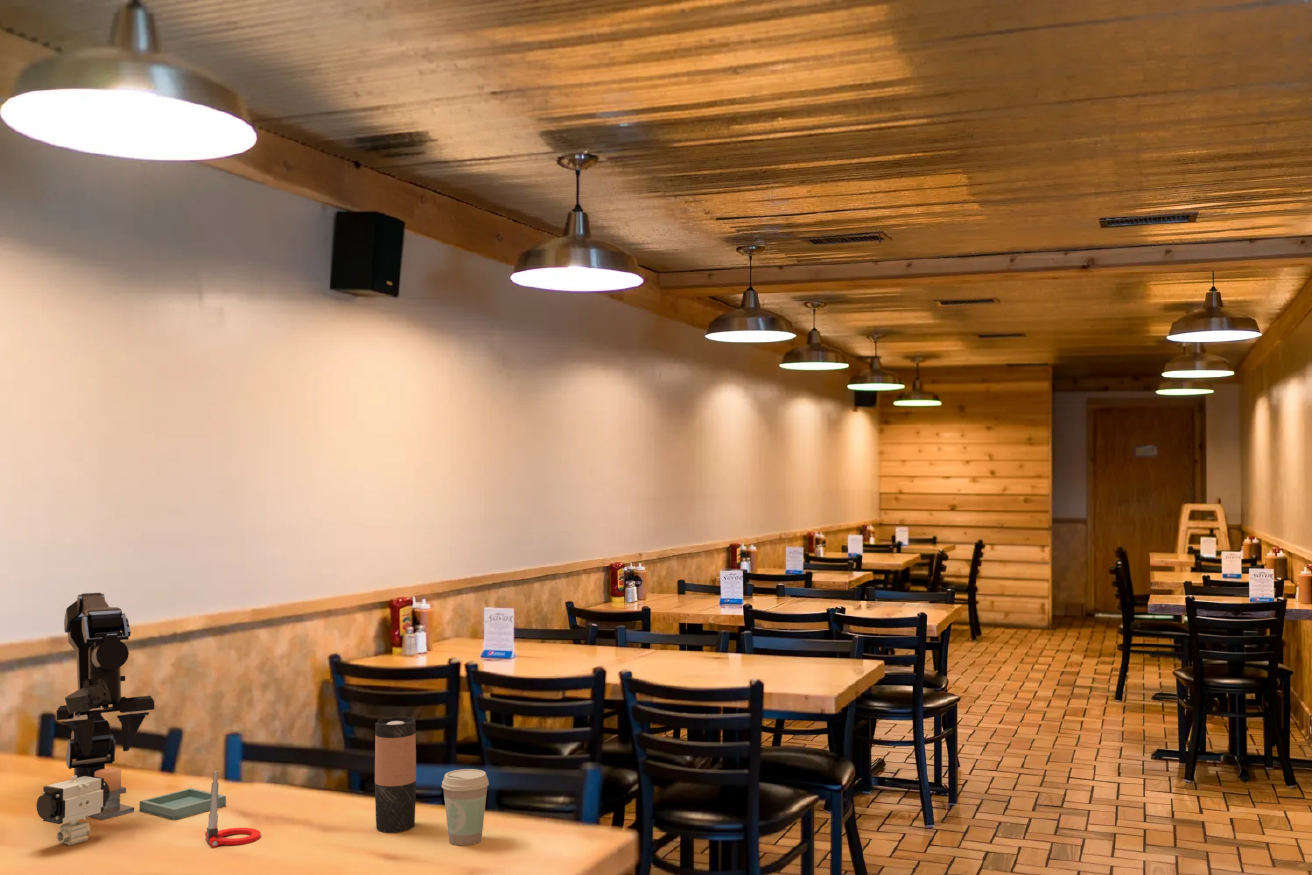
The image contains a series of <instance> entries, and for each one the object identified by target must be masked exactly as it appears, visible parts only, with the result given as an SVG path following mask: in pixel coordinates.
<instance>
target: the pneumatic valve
mask: <svg viewBox="0 0 1312 875" xmlns="http://www.w3.org/2000/svg"><path fill="white" fill-rule="evenodd" d="M70 777H71V778H70V779H68V780H65V781H60V782H55V783H52V784H48V785H45V786H43V787H42V788H43V789H42V790H43V791H42V792H41V795H40V796H39V797H38V798H37V800H36V812H37V815H38V817H39V818H41V819H42V821H43V822H45V823H51V824H57V825H59V826H58V831H57V832H56V839H57V842H58V844H66V845H68V846H75V845H78V844H80V843H85V842H86V841H88V839H90V838H89V834H90V832H91V826H90V825H89V824H90V823H89V822H87V821H80V820H86V819H87V818H86V817H87V816H90V815H94V814H97V813H101V812H104V806H106V802H107V801H108V799H109V796H110V789H109V786H108V784H107V783H106V782H105V781H104V778H101V777H95V776H89V775H87V776H83V777H79V778H77V776H76V775H75V776H74V775H72V776H70Z"/></svg>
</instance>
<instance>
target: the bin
mask: <svg viewBox="0 0 1312 875" xmlns="http://www.w3.org/2000/svg"><path fill="white" fill-rule="evenodd" d="M226 803H227V796H226V795H223V794H219V793H218V804H217V809H219V808H223V807H226V805H227V804H226ZM210 806H211V792H210V791H206V790H201V789H198V788H192V787H189V788H186V789H182V790H178V791H174V792H170V793H165V794H162V795H158V796H155V797H151V798H146V799H142V800H139V812H141V813H144V814H145V813H146V814H148V815H153V816H156V817H160V818H164V819H167V820H173V821H176V820H179V819H183V818H186V817H191V816H194V815H198V814H202V813H205V812H210Z"/></svg>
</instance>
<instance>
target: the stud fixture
mask: <svg viewBox="0 0 1312 875" xmlns="http://www.w3.org/2000/svg"><path fill="white" fill-rule="evenodd" d="M133 812H135V807H134V806H130V805H126V804H122V803H121V794H119V795H115V796H111V797H109V799H108V801H107V802H106V806H104V812H101V813H97V814H94V815H90V816H87V817H88V818H92V819H96V820H99V821H103V820H106V819H110V818H114V817H118V816H122V815H125V814H129V813H133Z"/></svg>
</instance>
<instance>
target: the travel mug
mask: <svg viewBox="0 0 1312 875" xmlns="http://www.w3.org/2000/svg"><path fill="white" fill-rule="evenodd" d="M374 725H375V726H374V727H375V728H374V730H375V734H374V735H375V737H374V738H375V739H374V740H375V741H374V742H375V743H374V799H375V800H374V802H375V804H374V806H375V824H376V825H375V827H376V830H377V831H378V832H381V833H391V834H392V833H395V834H396V833H403V832H406V831H410V830H412V829H414V827H415V824H416V823H415V822H416V795H417V792H416V791H417V749H416V748H417V746H416V745H417V743H416V740H417V735H416V732H417V731H416V730H417V729H416V728H417V727H416V725H417V724H416V719H415V718H413V717H408V716H393V717H390V716H389V717H384V718H380V719H378V720H377V722H375V724H374Z"/></svg>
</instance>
